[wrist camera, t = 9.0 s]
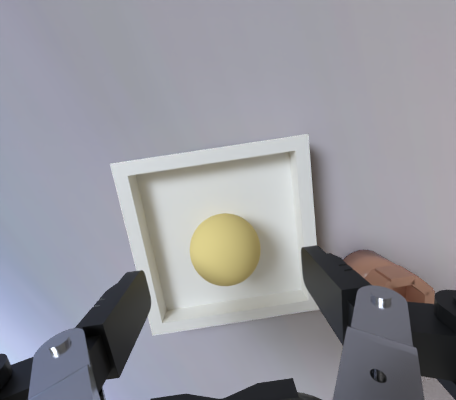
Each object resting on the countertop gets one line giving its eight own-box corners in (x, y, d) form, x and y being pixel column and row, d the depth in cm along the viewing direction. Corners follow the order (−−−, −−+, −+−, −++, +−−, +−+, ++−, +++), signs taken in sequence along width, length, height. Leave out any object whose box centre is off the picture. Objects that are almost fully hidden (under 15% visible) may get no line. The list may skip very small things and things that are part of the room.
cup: (335, 254, 19) (370, 282, 15) (385, 246, 19) (435, 272, 15) (338, 298, 20) (371, 338, 16) (386, 291, 20) (433, 328, 16)
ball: (189, 211, 17) (176, 232, 12) (250, 202, 17) (262, 219, 12) (200, 268, 18) (192, 308, 13) (258, 259, 18) (271, 296, 13)
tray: (125, 163, 17) (109, 163, 15) (295, 137, 17) (308, 133, 15) (160, 314, 20) (152, 335, 17) (309, 291, 20) (321, 309, 18)
